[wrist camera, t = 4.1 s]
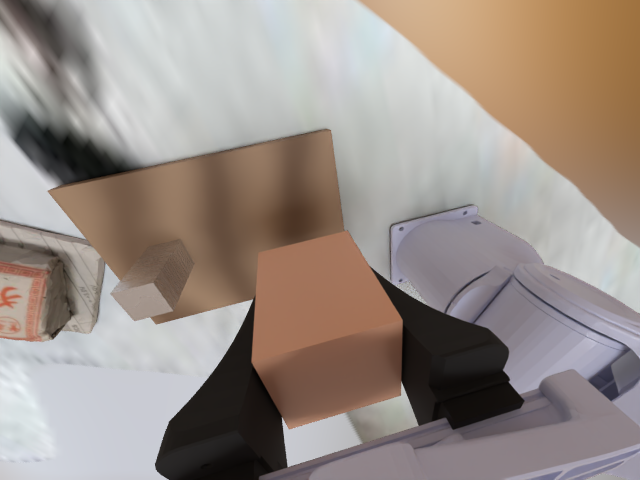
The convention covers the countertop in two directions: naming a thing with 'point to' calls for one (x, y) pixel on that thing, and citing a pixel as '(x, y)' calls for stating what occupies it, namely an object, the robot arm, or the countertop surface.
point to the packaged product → (46, 283)
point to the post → (155, 280)
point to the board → (212, 213)
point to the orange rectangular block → (324, 330)
